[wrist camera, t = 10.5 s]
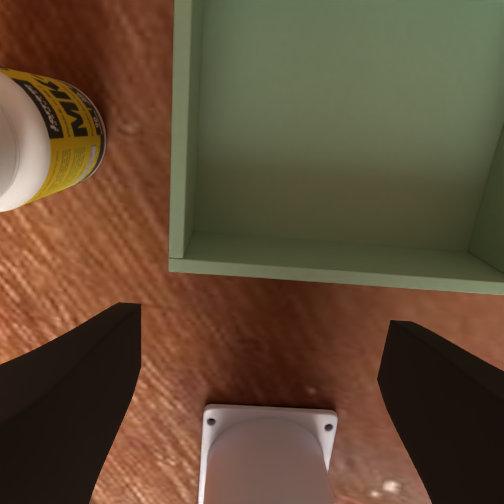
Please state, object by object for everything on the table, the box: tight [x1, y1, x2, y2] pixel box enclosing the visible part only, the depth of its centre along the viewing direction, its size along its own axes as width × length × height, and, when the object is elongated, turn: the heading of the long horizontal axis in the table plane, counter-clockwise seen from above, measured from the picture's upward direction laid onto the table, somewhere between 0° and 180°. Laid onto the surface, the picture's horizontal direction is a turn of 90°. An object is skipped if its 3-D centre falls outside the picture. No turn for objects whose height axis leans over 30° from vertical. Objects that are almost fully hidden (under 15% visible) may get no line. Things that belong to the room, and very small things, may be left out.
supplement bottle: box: [0, 67, 106, 212], centre depth 14 cm, size 5×5×8 cm
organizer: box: [168, 0, 504, 295], centre depth 16 cm, size 12×15×4 cm
